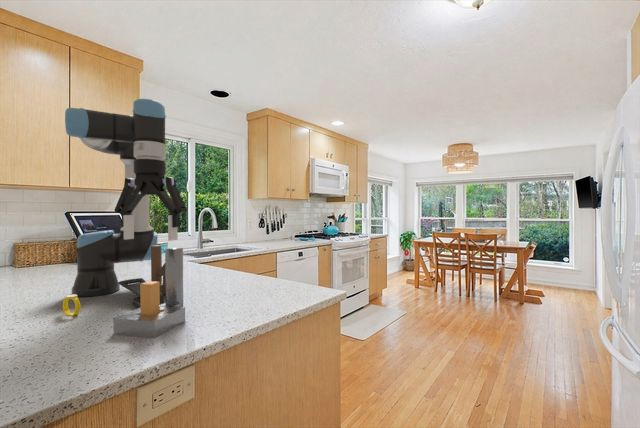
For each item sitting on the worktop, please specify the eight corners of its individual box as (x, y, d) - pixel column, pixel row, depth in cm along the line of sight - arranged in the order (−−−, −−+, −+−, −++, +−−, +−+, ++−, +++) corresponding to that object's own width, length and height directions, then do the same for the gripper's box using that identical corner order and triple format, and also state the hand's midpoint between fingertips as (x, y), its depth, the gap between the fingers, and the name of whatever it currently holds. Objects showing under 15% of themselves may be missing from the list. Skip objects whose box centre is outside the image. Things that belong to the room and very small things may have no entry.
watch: (82, 315, 96) (83, 296, 96) (73, 318, 93) (73, 298, 93) (69, 312, 98) (70, 292, 98) (59, 314, 95) (60, 295, 95)
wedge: (149, 325, 87) (149, 281, 87) (159, 325, 86) (159, 281, 86) (140, 329, 84) (140, 283, 84) (151, 330, 83) (150, 284, 83)
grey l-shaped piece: (162, 311, 98) (162, 247, 98) (197, 314, 96) (197, 247, 95) (113, 334, 81) (112, 255, 80) (154, 337, 78) (153, 256, 78)
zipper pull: (143, 277, 118) (175, 287, 102) (143, 295, 118) (175, 308, 102) (116, 281, 112) (145, 293, 96) (116, 300, 112) (145, 315, 96)
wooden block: (169, 296, 116) (169, 247, 116) (148, 293, 120) (148, 245, 120) (177, 293, 119) (177, 246, 119) (157, 291, 124) (156, 244, 124)
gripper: (98, 159, 84) (99, 239, 84) (182, 155, 78) (183, 241, 79) (121, 163, 91) (122, 237, 91) (200, 160, 86) (200, 239, 86)
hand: (150, 239), depth 85 cm, fingers open, 13 cm apart
